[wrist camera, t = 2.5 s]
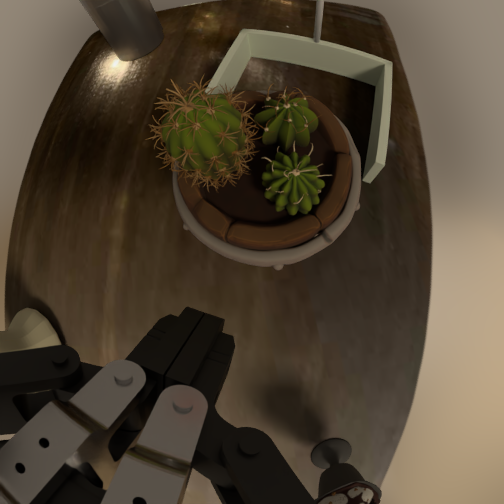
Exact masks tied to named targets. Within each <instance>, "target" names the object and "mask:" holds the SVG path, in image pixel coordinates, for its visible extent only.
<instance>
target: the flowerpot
mask: <svg viewBox="0 0 504 504" xmlns="http://www.w3.org/2000/svg"><path fill="white" fill-rule="evenodd" d="M203 77H204V75H203ZM203 77H202V79H203ZM202 79H201V81H200V83H199V84H200V86H199V85H198V84H197V83H196V82H195V81H193V82H194V83H195V84H196V85H194V84H192V85H191V86H190V87H189V88H188V89H187V90H186V92H187V91H188V92H189V90H190V88H191V87H192V86H193V85H194V86H196V87H197V88H198V89H197V88H196V87H195V88H191V89H193V91H192V92H191V93H189V94H188V92H187V93H186V92H185V91H184V90H183V89H181V90H182V91H184V92H183V93H184V94H183V93H182V91H181V90H180V89H179V87H178V86H177V87H176V86H175V84H174V83H173V81H172V80H171V81H172V83H173V86H174V87H175V89H176V90H177V92H178V93H177V92H175V91H173V90H169V89H167V90H169V91H171V92H173V93H174V94H167V93H166V95H167V101H168V102H167V101H165V100H164V99H161V98H159V99H160V100H161V101H160V102H158V103H154V104H164V105H162V106H165V107H166V108H165V107H164V108H159V107H157V108H158V109H162V110H163V109H164V110H165V109H167V110H168V112H167V113H165V114H164V115H163V116H165V115H166V114H167V115H166V117H165V118H164V120H163V122H162V121H161V123H162V124H160V123H159V121H158V123H157V121H156V120H155V119H154V117H153V119H154V120H155V122H156V123H157V124H159V125H160V126H152V125H153V124H152V125H150V126H152V127H153V128H154V127H157V128H154V129H152V128H151V127H150V128H151V129H152V130H151V131H154V130H155V131H154V132H155V133H156V134H157V133H158V135H157V136H155V135H156V134H155V135H154V137H151V138H153V140H154V138H156V137H159V136H161V137H160V138H161V140H162V141H163V142H165V143H166V146H165V147H166V148H165V147H164V149H161V150H167V151H165V152H162V153H158V154H160V155H162V154H164V153H166V152H167V153H166V155H165V157H166V161H165V157H164V158H161V157H159V158H161V159H164V163H162V164H165V163H167V165H169V164H170V163H171V162H172V163H173V166H172V163H171V168H170V169H172V167H174V169H172V172H173V191H174V197H175V201H176V205H177V208H178V211H179V213H180V216H181V217H182V219H183V221H184V224H183V228H184V229H185V230H190V231H191V232H192V234H193V235H194V236H195V237H196V238H197V239H199V240H200V241H201V242H202V243H204V244H205V245H206V246H208V247H209V248H211V249H212V250H214V251H215V252H217V253H219V254H221V255H223V256H225V257H227V258H230V259H232V260H235V261H238V262H241V263H245V264H249V265H255V266H263V267H268V266H273V267H274V269H276V270H281V269H282V268H283V265H286V264H292V263H296V262H299V261H301V260H303V259H306V258H308V257H310V256H312V255H313V254H315V253H317V252H319V251H320V250H322V249H324V248H325V247H327V246H328V245H330V244H331V243H333V242H334V241H335V239H336V238H337V237H338V236H339V235H340V234H341V233H342V232H343V231H344V229H345V228H346V227H347V226H348V224H349V223H350V221H351V219H352V217H353V214H354V212H355V211H356V210H358V209H359V208H360V204H359V202H358V201H359V196H360V189H361V162H360V155H359V153H358V151H357V149H356V146H355V144H354V142H353V139H352V137H351V135H350V133H349V131H348V129H347V128H346V127H345V126H344V124H343V123H342V122H341V121H340V120H339V119H338V118H337V117H336V116H335V115H334V114H333V113H332V112H331V111H330V110H329V109H328V108H327V107H326V106H325V105H324V104H323V103H321V102H320V101H318V100H317V99H315V98H313V97H312V96H308V95H305V94H303V92H301V90H299V89H298V88H297V89H298V90H299V91H300V92H296V93H302V94H297V95H296V94H295V93H294V91H293V92H292V91H286V89H285V91H269V89H270V87H271V86H270V87H269V89H268V91H241V92H237V93H234V94H232V93H233V92H235V91H232V89H233V88H234V86H235V85H234V86H233V88H232V89H231V88H230V92H228V90H227V86H226V84H225V86H226V88H225V89H226V93H225V90H224V88H223V87H222V86H221V87H222V88H223V90H224V93H223V92H222V91H221V90H219V92H220V91H221V92H222V93H223V94H222V93H218V94H211V93H212V92H211V93H210V94H208V93H209V92H210V91H213V90H214V89H215V88H216V87H214V88H213V89H212V88H210V89H211V90H210V91H208V92H207V93H206V92H205V90H206V89H208V88H209V87H207V88H204V86H205V85H207V84H210V83H208V82H209V81H210V80H209V81H207V82H206V83H207V84H206V83H205V84H204V86H202V85H201V82H202ZM211 80H212V79H211ZM188 84H191V83H188ZM171 85H172V84H171ZM176 85H177V84H176ZM272 85H273V84H272ZM201 86H202V88H201ZM287 86H288V85H287ZM217 87H218V86H217ZM180 88H181V87H180ZM286 88H287V87H286ZM294 88H295V87H294ZM196 89H197V90H196ZM178 90H179V91H180V92H179V91H178ZM194 90H195V91H194ZM180 93H181V94H182V95H181V94H180ZM230 94H231V95H230ZM168 95H175V96H177V97H175V96H174V98H172V97H170V98H172V100H173V102H172V100H171V102H169V99H168ZM228 95H229V96H228ZM178 97H179V98H178ZM175 98H178V99H175ZM162 100H164V101H165V102H163V101H162ZM174 100H175V101H174ZM162 106H160V107H162ZM157 108H156V109H157ZM156 109H155V110H156ZM163 112H164V111H163ZM152 116H153V115H152ZM163 116H162V117H161V118H163ZM161 118H160V119H161ZM160 119H159V120H160ZM148 125H149V124H148ZM156 129H159V130H161V131H159V130H158V131H156ZM151 131H150V132H151ZM159 134H160V135H159ZM160 138H159V139H160ZM148 139H150V138H148ZM159 139H158V140H159ZM145 140H147V139H145ZM158 140H157V141H158ZM157 141H156V143H157ZM156 143H155V145H156ZM161 144H162V142H161ZM155 145H154V148H155ZM156 147H157V146H156ZM157 148H158V147H157ZM158 149H160V148H158ZM168 153H169V154H170V155H171V157H170V155H168ZM160 155H158V156H160ZM167 155H168V156H169V158H167V157H168V156H167ZM158 156H157V157H158ZM167 159H170V160H168V161H167ZM169 161H170V162H169ZM168 162H169V164H168ZM174 162H175V163H174ZM167 165H166V166H167ZM166 166H164V167H166ZM164 167H162V168H164ZM160 169H161V168H160ZM170 169H169V170H170ZM321 232H322V233H321ZM319 233H320V234H319Z"/></svg>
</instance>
